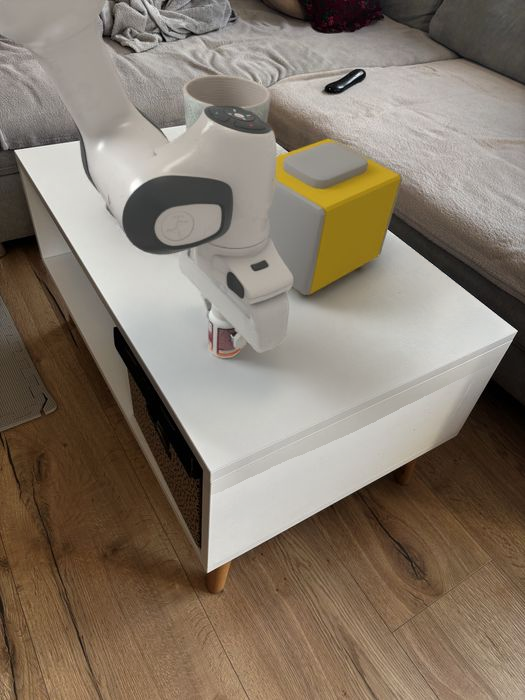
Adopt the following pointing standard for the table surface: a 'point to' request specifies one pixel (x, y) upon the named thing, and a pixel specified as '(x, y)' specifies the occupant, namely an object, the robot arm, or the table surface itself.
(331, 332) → the table surface
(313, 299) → the table surface
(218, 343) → the pill bottle
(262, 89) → the planter
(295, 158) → the alarm clock
